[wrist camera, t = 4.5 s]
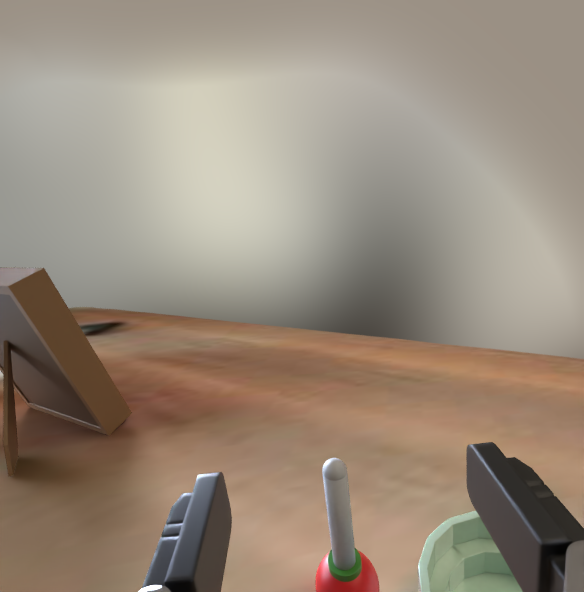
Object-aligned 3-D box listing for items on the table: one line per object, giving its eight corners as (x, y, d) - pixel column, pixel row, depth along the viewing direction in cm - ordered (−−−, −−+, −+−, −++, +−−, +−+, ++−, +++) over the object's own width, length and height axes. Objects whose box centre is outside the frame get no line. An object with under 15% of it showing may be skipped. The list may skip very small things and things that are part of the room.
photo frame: (53, 393, 68) (5, 257, 61) (133, 418, 57) (87, 257, 50) (-47, 446, 56) (-121, 285, 49) (31, 490, 45) (-50, 291, 38)
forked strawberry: (330, 659, 26) (308, 497, 22) (312, 592, 30) (291, 446, 26) (392, 637, 27) (382, 477, 23) (366, 575, 31) (354, 431, 27)
